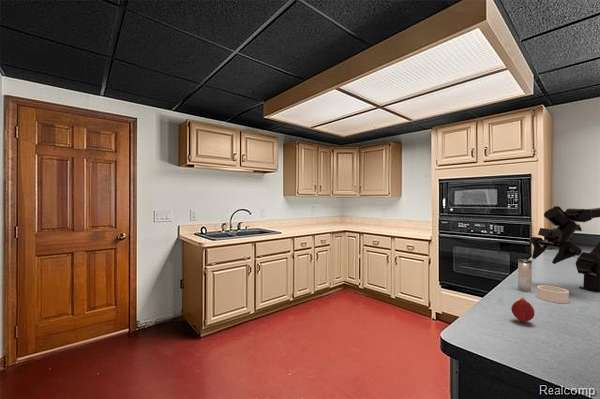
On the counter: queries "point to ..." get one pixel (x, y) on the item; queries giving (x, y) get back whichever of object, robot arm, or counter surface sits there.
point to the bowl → (553, 294)
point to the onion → (522, 310)
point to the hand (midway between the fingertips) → (542, 260)
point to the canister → (524, 275)
